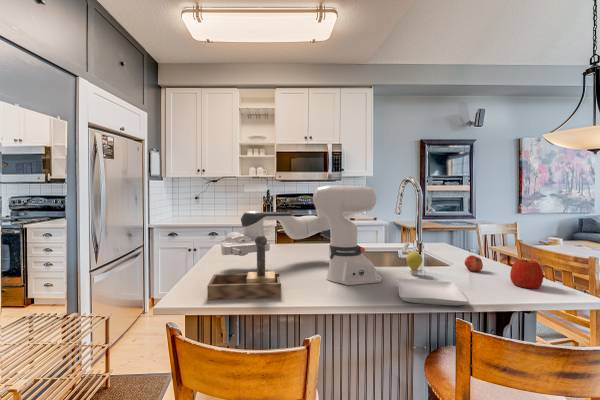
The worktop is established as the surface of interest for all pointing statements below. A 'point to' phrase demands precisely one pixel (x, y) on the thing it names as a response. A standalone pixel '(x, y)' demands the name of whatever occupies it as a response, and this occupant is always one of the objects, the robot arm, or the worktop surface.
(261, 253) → the knobbed upright rod
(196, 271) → the worktop surface
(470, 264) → the pomegranate
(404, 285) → the salad plate
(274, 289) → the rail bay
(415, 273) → the light bulb
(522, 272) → the apple
